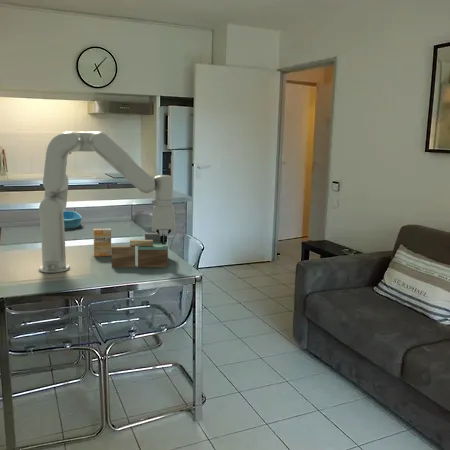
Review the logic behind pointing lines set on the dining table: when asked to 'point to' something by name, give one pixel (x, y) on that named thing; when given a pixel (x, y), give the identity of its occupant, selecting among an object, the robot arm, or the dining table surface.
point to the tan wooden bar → (141, 242)
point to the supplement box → (102, 242)
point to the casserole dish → (71, 219)
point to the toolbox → (146, 258)
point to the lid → (154, 242)
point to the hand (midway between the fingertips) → (163, 244)
